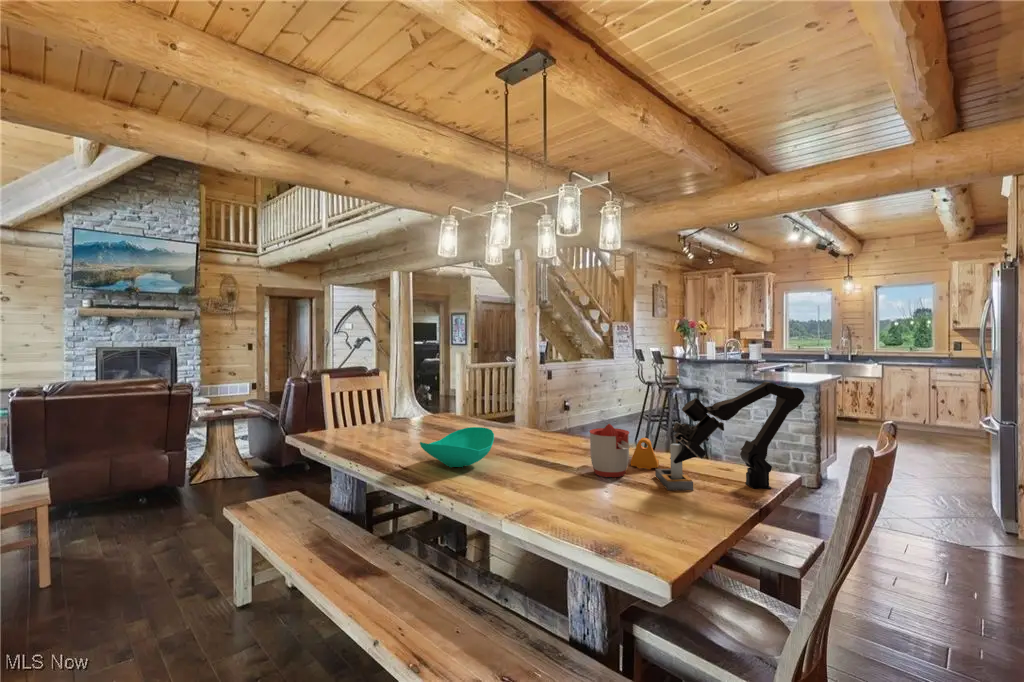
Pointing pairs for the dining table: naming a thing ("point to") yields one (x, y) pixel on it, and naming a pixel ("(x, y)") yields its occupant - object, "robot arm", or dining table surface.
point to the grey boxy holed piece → (673, 480)
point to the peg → (676, 468)
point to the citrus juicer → (609, 451)
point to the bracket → (644, 455)
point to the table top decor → (461, 446)
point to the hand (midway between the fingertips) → (672, 461)
